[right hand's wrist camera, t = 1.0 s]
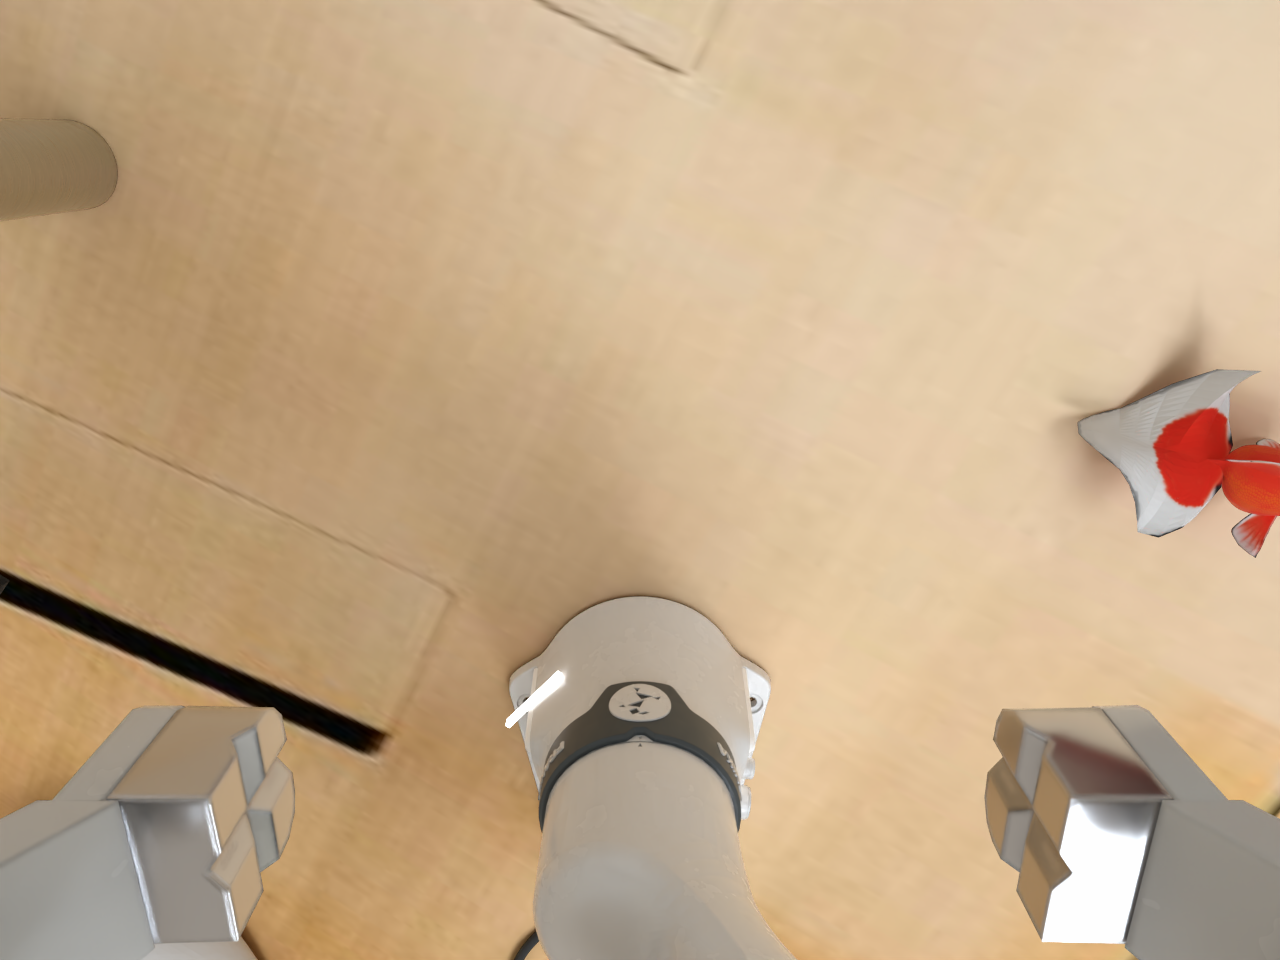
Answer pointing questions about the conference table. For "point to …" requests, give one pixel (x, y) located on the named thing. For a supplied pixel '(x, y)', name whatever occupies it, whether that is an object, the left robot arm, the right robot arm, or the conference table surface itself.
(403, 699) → the conference table surface
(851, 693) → the conference table surface
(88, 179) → the jar
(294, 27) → the conference table surface
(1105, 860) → the right robot arm
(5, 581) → the left robot arm
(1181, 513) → the fish
